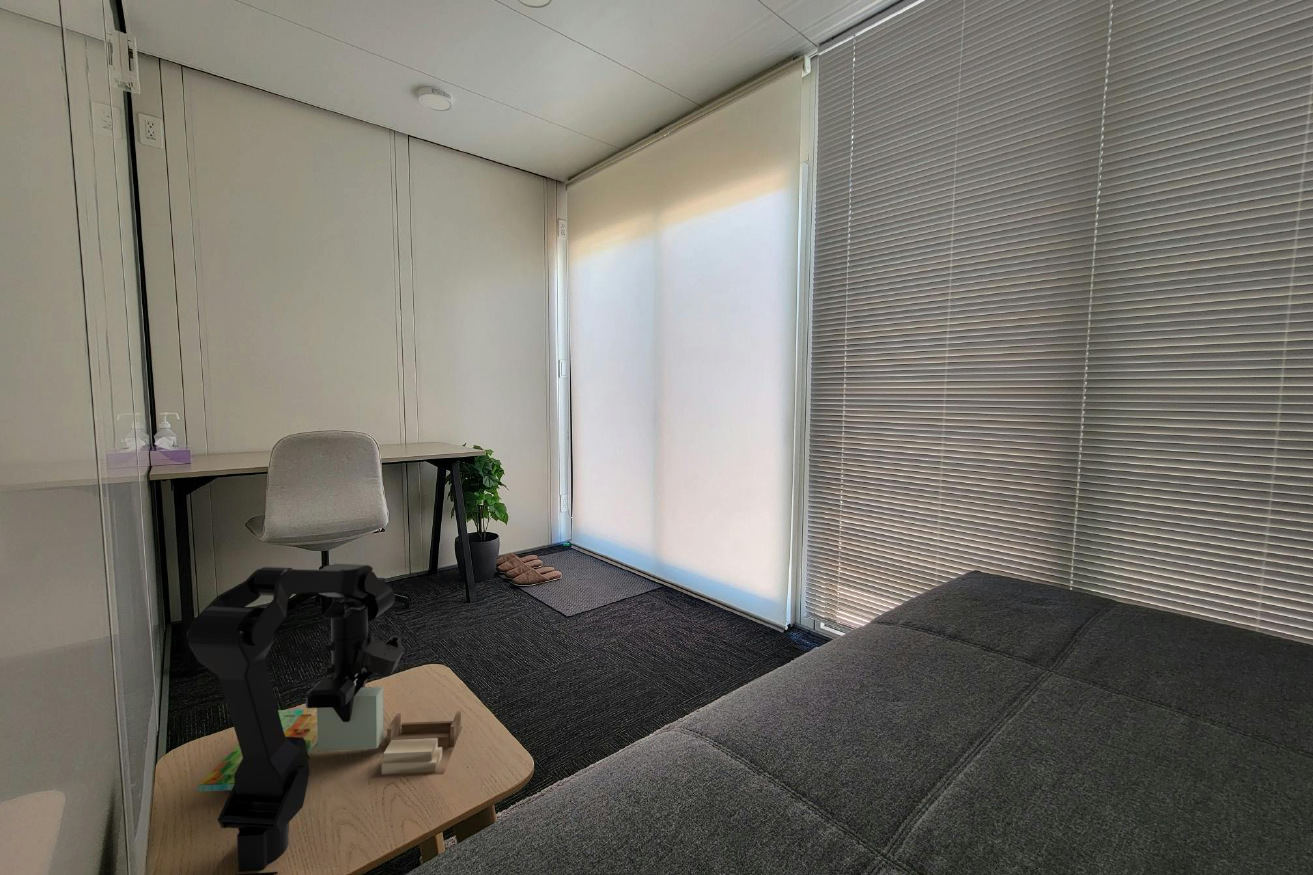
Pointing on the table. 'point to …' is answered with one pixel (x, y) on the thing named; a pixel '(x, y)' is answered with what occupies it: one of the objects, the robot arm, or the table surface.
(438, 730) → the rack
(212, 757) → the table surface
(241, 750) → the robot arm
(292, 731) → the puzzle game
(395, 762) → the offcut stack
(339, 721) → the board
